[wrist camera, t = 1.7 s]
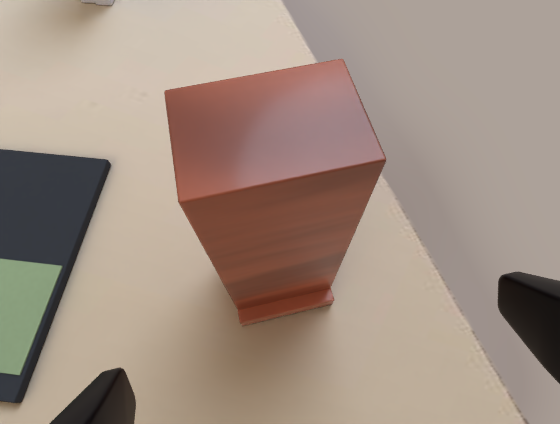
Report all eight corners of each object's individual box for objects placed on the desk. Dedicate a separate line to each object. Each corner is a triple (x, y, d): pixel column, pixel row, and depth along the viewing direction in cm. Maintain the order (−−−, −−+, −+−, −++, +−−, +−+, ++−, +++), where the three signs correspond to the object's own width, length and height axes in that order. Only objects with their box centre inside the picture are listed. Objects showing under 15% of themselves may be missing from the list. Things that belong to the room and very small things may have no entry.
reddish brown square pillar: (332, 304, 20) (397, 182, 9) (241, 326, 20) (181, 228, 8) (309, 226, 22) (336, 41, 11) (226, 244, 22) (161, 72, 10)
